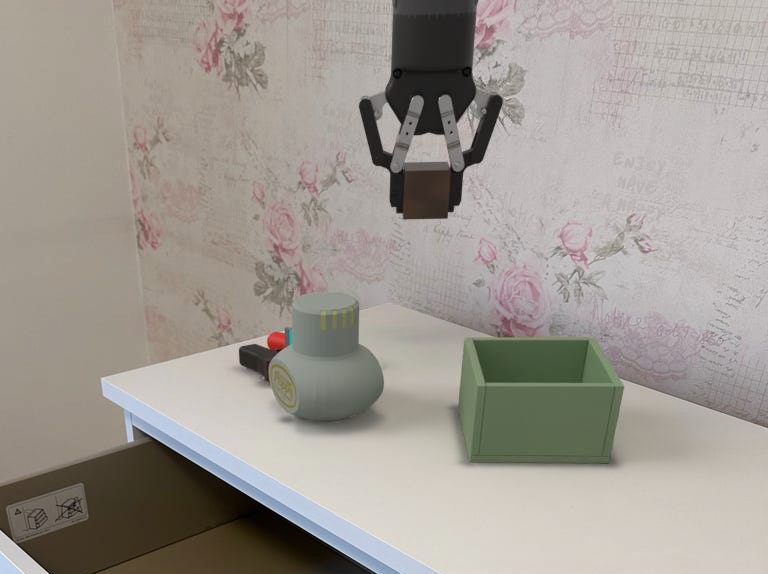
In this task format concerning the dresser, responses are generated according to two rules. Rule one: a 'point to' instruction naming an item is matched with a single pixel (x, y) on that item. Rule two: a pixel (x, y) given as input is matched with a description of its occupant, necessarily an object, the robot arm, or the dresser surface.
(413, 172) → the walnut block
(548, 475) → the dresser surface
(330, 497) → the dresser surface
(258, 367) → the toy gun
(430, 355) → the dresser surface
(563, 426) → the green open box
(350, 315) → the air freshener
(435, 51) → the robot arm
